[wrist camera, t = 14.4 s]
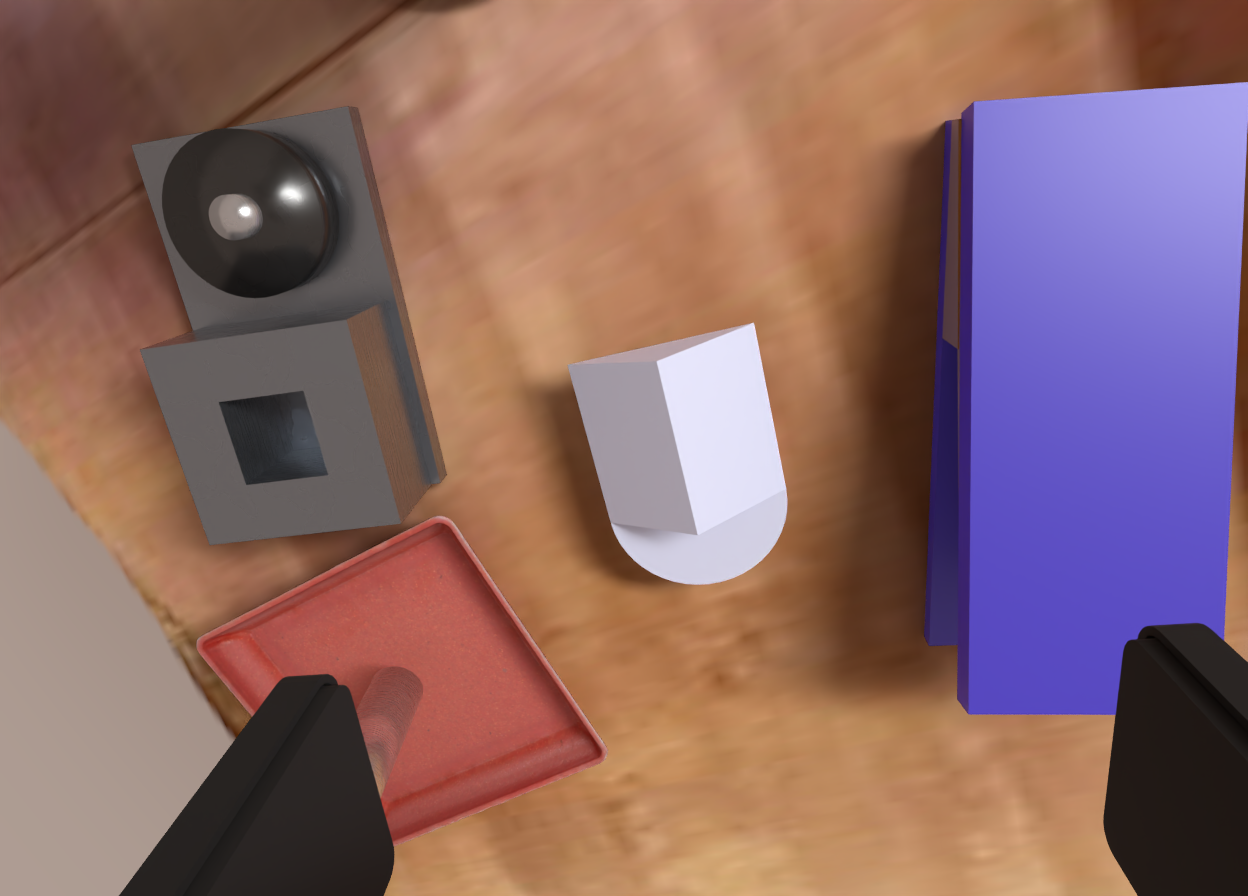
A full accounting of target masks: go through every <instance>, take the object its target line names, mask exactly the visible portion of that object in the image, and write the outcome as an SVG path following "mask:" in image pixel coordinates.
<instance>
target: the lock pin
mask: <svg viewBox="0 0 1248 896" xmlns="http://www.w3.org/2000/svg"><path fill="white" fill-rule="evenodd" d="M422 696H423V685H422V683H421V681H420V679H419V678H418V677H417V676H416V675H415V674H414V673H413V672H411V671H410V670H408V669H405V668H402V667H397V666H392V667H386V668H383V669H381V670H380V671H378V672H377V673H376V674H375V675H374V677H373V679H372V681H371V683H370V685H369V687H368V689H367V690H366V692H365V694H364V696H363V698H362V700H361V702H360V704H359V706H358V708H357V710H356V712H357V716H358V719H359V723H360V727H361V730H362V734H363V737H364V741H365V744H366V748H367V752H368V755H369V759H370V762H371V766H372V770H373V773H374V777H375V780H376V784H377V787H378V791H379V795H380V798H381V796H382V794H383V791H384V789H385V786H386V784H387V781H388V779H389V776H390V774H391V772H392V769H393V767H394V764H395V762H396V759H397V757H398V755H399V752H400V750H401V747H402V745H403V742H404V740H405V737H406V735H407V733H408V730H409V728H410V725H411V723H412V720H413V718H414V715H415V713H416V711H417V708H418V706H419V703H420V701H421V698H422Z"/></svg>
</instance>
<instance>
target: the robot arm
mask: <svg viewBox="0 0 1248 896" xmlns="http://www.w3.org/2000/svg"><path fill="white" fill-rule="evenodd" d="M1104 831H1105V835H1106V839H1107V842H1108V845H1109V847H1110V850H1111V852H1112V854H1113V855H1114V857H1115V859H1116V861H1117V862H1118V864H1119V865H1120V867H1121V869H1122V870H1123V872H1124V874H1125V875H1126V877H1127V879H1128V880H1129V882H1130V884H1131V885H1132V887H1133V888H1134V890H1135V892H1136V893H1137V895H1138V896H1248V662H1247V661H1246V660H1244V659H1243V658H1242V657H1241V656H1240V655H1239V654H1238V653H1237V652H1236V651H1235V650H1234V649H1232V648H1231V647H1230V646H1229V645H1228V644H1227V643H1226V642H1225V641H1224V640H1223V639H1222V638H1220V637H1219V636H1218V635H1217V634H1216V633H1215V632H1214V631H1213V630H1212V629H1210V628H1209V627H1207V626H1206V625H1204V624H1201V623H1185V624H1168V625H1151V626H1146V627H1144V628H1142V629H1141V631H1140V632H1139V634H1138V638H1137V639H1133V640H1129V641H1127V643H1126V644H1125V646H1124V650H1123V657H1122V665H1121V674H1120V682H1119V691H1118V699H1117V708H1116V716H1115V724H1114V733H1113V741H1112V750H1111V758H1110V767H1109V775H1108V784H1107V792H1106V801H1105V809H1104ZM393 865H394V846H393V841H392V837H391V834H390V830H389V827H388V823H387V820H386V816H385V812H384V809H383V805H382V802H381V798H380V795H379V791H378V787H377V784H376V780H375V777H374V773H373V770H372V766H371V762H370V759H369V755H368V752H367V748H366V744H365V741H364V737H363V734H362V730H361V727H360V723H359V719H358V716H357V712H356V709H355V705H354V702H353V698H352V695H351V692H350V690H349V688H348V687H347V686H345V685H338V683H337V680H336V679H335V678H334V677H333V676H332V675H329V674H318V675H301V676H287V677H284V678H282V679H281V680H280V681H279V682H278V683H277V684H276V686H275V687H274V688H273V690H272V691H271V692H270V694H269V695H268V696H267V698H266V699H265V700H264V702H263V703H262V704H261V706H260V707H259V708H258V710H257V711H256V712H255V714H254V715H253V716H252V718H251V719H250V720H249V722H248V723H247V725H246V726H245V727H244V729H243V730H242V731H241V733H240V734H239V735H238V737H237V738H236V739H235V741H234V742H233V743H232V745H231V746H230V747H229V749H228V750H227V752H226V753H225V754H224V755H223V757H222V758H221V759H220V761H219V762H218V764H217V765H216V766H215V768H214V769H213V770H212V772H211V773H210V774H209V776H208V777H207V778H206V780H205V781H204V782H203V784H202V785H201V786H200V788H199V789H198V791H197V792H196V793H195V794H194V796H193V797H192V799H191V800H190V801H189V802H188V804H187V805H186V807H185V808H184V809H183V810H182V812H181V813H180V815H179V816H178V817H177V819H176V820H175V821H174V823H173V824H172V825H171V827H170V828H169V829H168V831H167V832H166V833H165V835H164V836H163V837H162V839H161V840H160V841H159V843H158V844H157V846H156V847H155V848H154V849H153V851H152V852H151V854H150V855H149V856H148V858H147V859H146V860H145V862H144V863H143V864H142V866H141V867H140V868H139V870H138V871H137V872H136V874H135V875H134V876H133V878H132V879H131V880H130V882H129V883H128V884H127V886H126V887H125V889H124V890H123V891H122V892H121V894H120V895H119V896H384V893H385V891H386V888H387V886H388V883H389V881H390V878H391V875H392V871H393Z"/></svg>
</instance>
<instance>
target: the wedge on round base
mask: <svg viewBox="0 0 1248 896" xmlns="http://www.w3.org/2000/svg"><path fill="white" fill-rule="evenodd" d="M568 369H569V372H570V376H571V379H572V383H573V387H574V390H575V394H576V398H577V401H578V405H579V409H580V412H581V416H582V420H583V423H584V427H585V431H586V434H587V438H588V442H589V445H590V449H591V452H592V456H593V460H594V463H595V467H596V471H597V474H598V478H599V482H600V485H601V489H602V493H603V496H604V500H605V504H606V507H607V511H608V515H609V518H610V522H611V525H612V528H613V530H614V533H615V535H616V537H617V539H618V541H619V543H620V544H621V546H622V547H623V548H624V550H625V551H626V552H627V553H628V554H629V556H630V557H631V558H632V559H633V560H634V561H636V562H637V563H638V564H639V565H640V566H642V567H643V568H645V569H646V570H648V571H649V572H651V573H653V574H655V575H657V576H659V577H662V578H664V579H667V580H670V581H674V582H679V583H684V584H696V585H699V584H711V583H717V582H722V581H725V580H728V579H732V578H734V577H736V576H738V575H741V574H743V573H744V572H746V571H748V570H749V569H751V568H753V567H754V566H755V565H756V564H758V563H759V562H760V561H761V560H762V559H763V558H764V557H765V556H766V555H767V554H768V553H769V552H770V550H771V549H772V548H773V546H774V545H775V543H776V542H777V540H778V538H779V536H780V534H781V532H782V529H783V526H784V523H785V519H786V513H787V493H786V486H785V481H784V476H783V470H782V465H781V460H780V455H779V450H778V445H777V440H776V434H775V429H774V424H773V419H772V414H771V409H770V403H769V398H768V393H767V388H766V383H765V378H764V373H763V367H762V362H761V357H760V352H759V347H758V342H757V336H756V331H755V326H754V323H751V324H746V325H742V326H737V327H733V328H729V329H724V330H720V331H715V332H711V333H706V334H702V335H697V336H693V337H689V338H684V339H680V340H675V341H671V342H666V343H662V344H658V345H653V346H649V347H644V348H640V349H635V350H631V351H626V352H622V353H618V354H613V355H609V356H604V357H600V358H595V359H591V360H587V361H582V362H578V363H573V364H569V365H568Z"/></svg>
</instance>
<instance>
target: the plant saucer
mask: <svg viewBox="0 0 1248 896" xmlns="http://www.w3.org/2000/svg"><path fill="white" fill-rule="evenodd" d="M196 647H197V650H198V652H199V653H200V655H201V656H202V657H203V659H204V660H205V661H206V662H207V663H208V665H209V666H210V667H211V668H212V669H213V671H214V672H215V673H216V674H217V675H218V677H219V678H220V679H221V680H222V682H223V683H224V684H225V685H226V686H227V687H228V689H229V690H230V691H231V692H232V693H233V694H234V696H235V697H236V698H237V699H238V700H239V702H240V703H241V704H242V705H243V706H244V707H245V709H246V710H247V711H248V712H249V714H250V715H251V716H253V715H254V714H255V712H256V711H257V710H258V708H259V707H260V706H261V704H262V703H263V702H264V700H265V699H266V698H267V696H268V695H269V694H270V692H271V691H272V690H273V688H274V687H275V686H276V684H277V683H278V682H279V681H280V680H281V679H282V678H284V677H287V676H301V675H318V674H329V675H332V676H333V677H334V678H335V679H336V680H337V683H338V685H345V686H347V687H348V688H349V690H350V692H351V695H352V698H353V702H354V705H355V709H356V710H357V708H358V706H359V704H360V702H361V700H362V698H363V696H364V694H365V692H366V690H367V689H368V687H369V685H370V683H371V681H372V679H373V677H374V675H375V674H376V673H377V672H378V671H380V670H381V669H383V668H386V667H392V666H397V667H402V668H405V669H408V670H410V671H411V672H413V673H414V674H415V675H416V676H417V677H418V678H419V679H420V681H421V683H422V685H423V696H422V698H421V701H420V703H419V706H418V708H417V711H416V713H415V715H414V718H413V720H412V723H411V725H410V728H409V730H408V733H407V735H406V737H405V740H404V742H403V745H402V747H401V750H400V752H399V755H398V757H397V759H396V762H395V764H394V767H393V769H392V772H391V774H390V776H389V779H388V781H387V784H386V786H385V789H384V791H383V794H382V796H381V802H382V805H383V809H384V812H385V816H386V820H387V823H388V827H389V830H390V834H391V837H392V841H393V846H396V845H399V844H402V843H404V842H407V841H410V840H412V839H414V838H416V837H419V836H421V835H424V834H426V833H429V832H432V831H434V830H436V829H438V828H441V827H443V826H446V825H449V824H451V823H453V822H456V821H458V820H460V819H463V818H466V817H468V816H470V815H473V814H476V813H479V812H481V811H483V810H485V809H487V808H490V807H493V806H496V805H499V804H501V803H504V802H506V801H508V800H510V799H513V798H516V797H518V796H520V795H523V794H526V793H528V792H530V791H532V790H535V789H537V788H540V787H543V786H545V785H548V784H550V783H552V782H555V781H558V780H560V779H562V778H565V777H568V776H570V775H572V774H575V773H578V772H581V771H583V770H585V769H587V768H590V767H593V766H595V765H597V764H600V763H601V762H603V761H604V760H605V759H606V757H607V754H608V749H607V747H606V745H605V744H604V742H603V741H602V739H601V738H600V736H599V735H598V733H597V732H596V731H595V729H594V728H593V726H592V725H591V723H590V722H589V720H588V719H587V717H586V716H585V714H584V713H583V711H582V710H581V709H580V707H579V706H578V704H577V703H576V701H575V700H574V698H573V697H572V695H571V694H570V692H569V691H568V689H567V688H566V686H565V685H564V683H563V682H562V680H561V679H560V678H559V676H558V675H557V673H556V672H555V670H554V669H553V667H552V666H551V664H550V663H549V661H548V660H547V658H546V657H545V656H544V654H543V653H542V651H541V650H540V648H539V647H538V645H537V644H536V642H535V641H534V640H533V638H532V637H531V635H530V634H529V632H528V631H527V629H526V628H525V626H524V625H523V623H522V622H521V620H520V619H519V618H518V616H517V615H516V613H515V612H514V610H513V609H512V607H511V606H510V604H509V603H508V601H507V600H506V599H505V597H504V596H503V594H502V593H501V591H500V590H499V588H498V587H497V585H496V584H495V582H494V581H493V579H492V578H491V576H490V575H489V573H488V572H487V570H486V569H485V567H484V566H483V565H482V563H481V562H480V560H479V559H478V557H477V556H476V554H475V553H474V551H473V550H472V548H471V547H470V545H469V544H468V542H467V541H466V539H465V538H464V536H463V535H462V533H461V532H460V531H459V529H458V528H457V526H456V525H455V523H454V522H453V521H452V520H450V519H449V518H447V517H445V516H435V517H432V518H430V519H428V520H426V521H424V522H422V523H420V524H418V525H416V526H414V527H412V528H410V529H408V530H406V531H404V532H402V533H400V534H398V535H396V536H394V537H392V538H390V539H388V540H386V541H384V542H382V543H380V544H378V545H376V546H374V547H372V548H370V549H368V550H366V551H364V552H362V553H360V554H358V555H357V556H355V557H353V558H351V559H349V560H347V561H345V562H343V563H341V564H339V565H337V566H335V567H333V568H331V569H330V570H328V571H326V572H324V573H322V574H320V575H318V576H316V577H314V578H312V579H311V580H309V581H307V582H305V583H303V584H301V585H299V586H297V587H295V588H293V589H291V590H289V591H287V592H285V593H284V594H282V595H280V596H278V597H276V598H274V599H272V600H270V601H268V602H266V603H264V604H262V605H261V606H259V607H257V608H255V609H253V610H251V611H249V612H247V613H245V614H243V615H241V616H239V617H237V618H235V619H233V620H231V621H229V622H227V623H225V624H223V625H221V626H219V627H217V628H215V629H213V630H212V631H210V632H208V633H206V634H204V635H202V636H200V637H199V638H198V639H197V645H196Z"/></svg>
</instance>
